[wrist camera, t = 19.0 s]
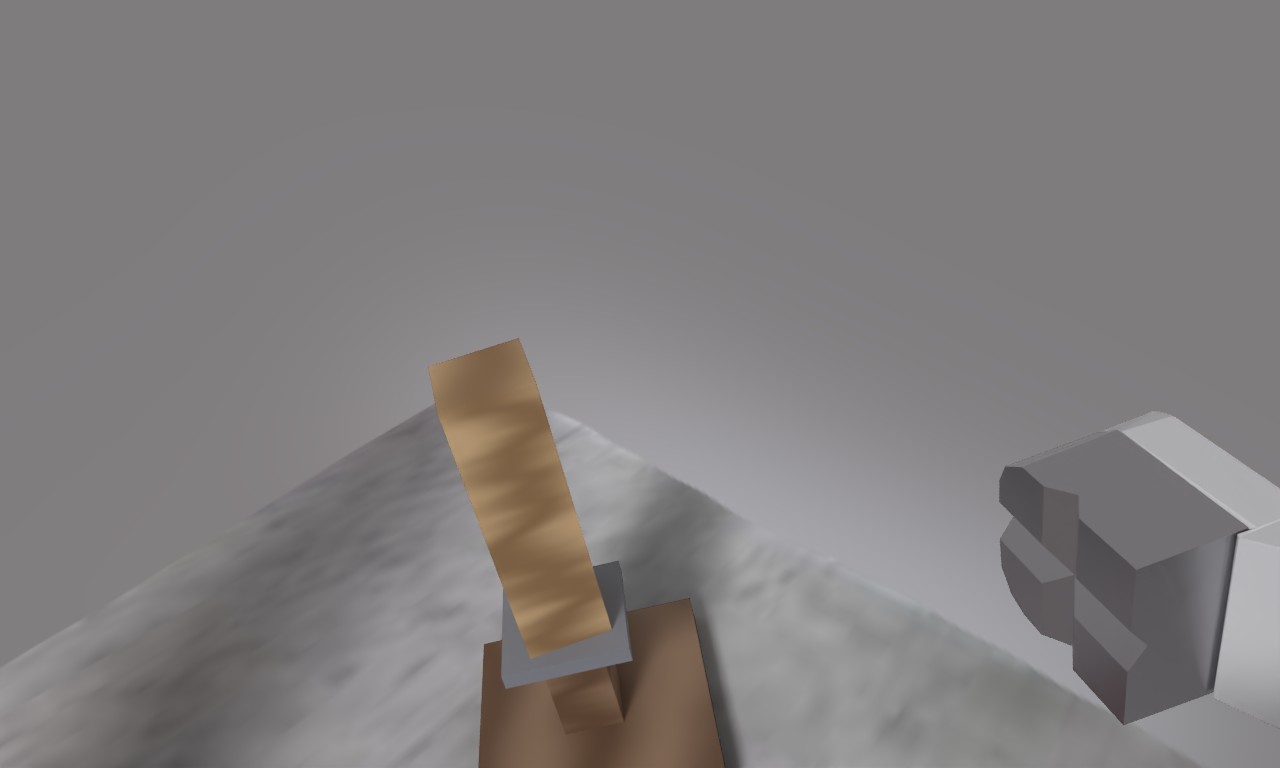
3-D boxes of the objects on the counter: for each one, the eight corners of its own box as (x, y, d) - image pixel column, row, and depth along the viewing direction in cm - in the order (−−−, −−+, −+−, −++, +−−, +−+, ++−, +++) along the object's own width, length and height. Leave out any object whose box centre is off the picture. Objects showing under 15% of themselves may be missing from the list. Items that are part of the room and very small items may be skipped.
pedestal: (484, 853, 47) (432, 745, 43) (491, 662, 57) (449, 560, 53) (731, 798, 47) (703, 685, 42) (694, 616, 57) (668, 510, 53)
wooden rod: (530, 659, 46) (437, 413, 38) (516, 602, 49) (428, 366, 42) (612, 629, 46) (535, 381, 39) (592, 575, 50) (518, 338, 42)
